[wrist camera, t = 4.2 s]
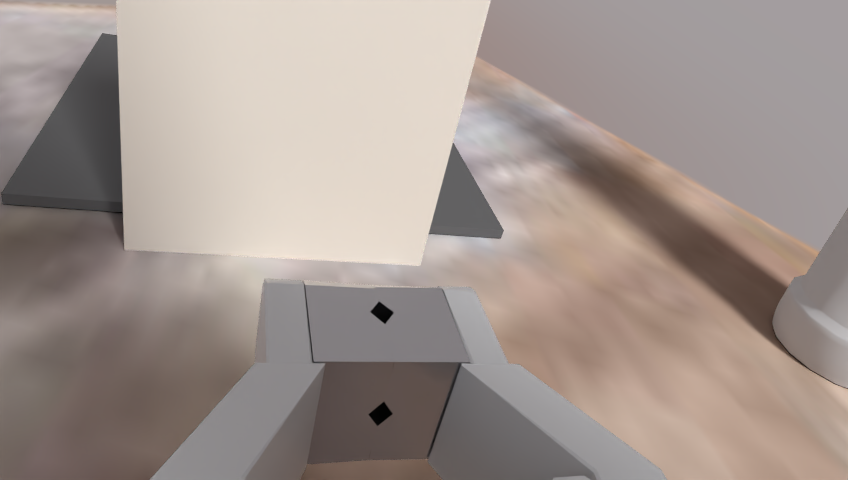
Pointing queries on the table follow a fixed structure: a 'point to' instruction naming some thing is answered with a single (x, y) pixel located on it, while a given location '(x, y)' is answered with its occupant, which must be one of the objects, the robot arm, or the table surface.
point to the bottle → (819, 311)
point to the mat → (102, 171)
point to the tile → (290, 124)
